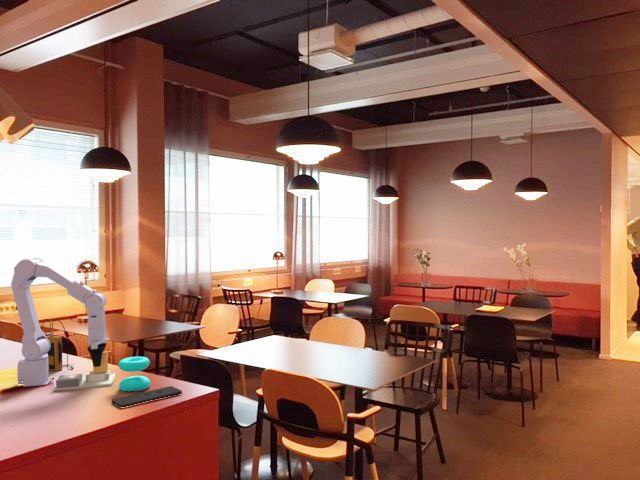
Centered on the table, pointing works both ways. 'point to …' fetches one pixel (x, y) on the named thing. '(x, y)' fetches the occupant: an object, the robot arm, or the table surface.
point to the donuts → (135, 381)
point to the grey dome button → (69, 381)
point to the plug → (102, 364)
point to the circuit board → (91, 383)
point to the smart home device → (146, 396)
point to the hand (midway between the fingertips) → (97, 365)
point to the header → (98, 376)
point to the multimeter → (55, 351)
